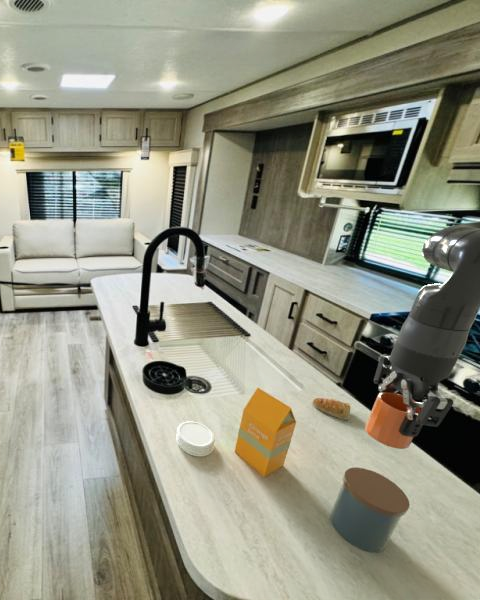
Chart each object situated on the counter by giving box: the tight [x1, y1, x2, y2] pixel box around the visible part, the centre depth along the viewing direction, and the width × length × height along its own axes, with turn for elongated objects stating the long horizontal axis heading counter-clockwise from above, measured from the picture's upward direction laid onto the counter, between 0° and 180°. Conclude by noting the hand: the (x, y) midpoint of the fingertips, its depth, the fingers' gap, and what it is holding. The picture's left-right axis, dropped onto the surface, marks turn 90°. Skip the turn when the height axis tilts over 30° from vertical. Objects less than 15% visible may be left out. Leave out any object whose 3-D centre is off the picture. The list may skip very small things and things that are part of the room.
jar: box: [329, 466, 411, 554], centre depth 64 cm, size 10×10×12 cm
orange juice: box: [234, 387, 297, 478], centre depth 79 cm, size 8×9×20 cm
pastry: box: [312, 397, 351, 421], centre depth 98 cm, size 9×7×4 cm
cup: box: [364, 392, 420, 450], centre depth 60 cm, size 6×6×8 cm
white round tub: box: [175, 420, 216, 457], centre depth 87 cm, size 10×10×4 cm
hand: (393, 420), depth 60 cm, fingers closed on cup, 6 cm apart
